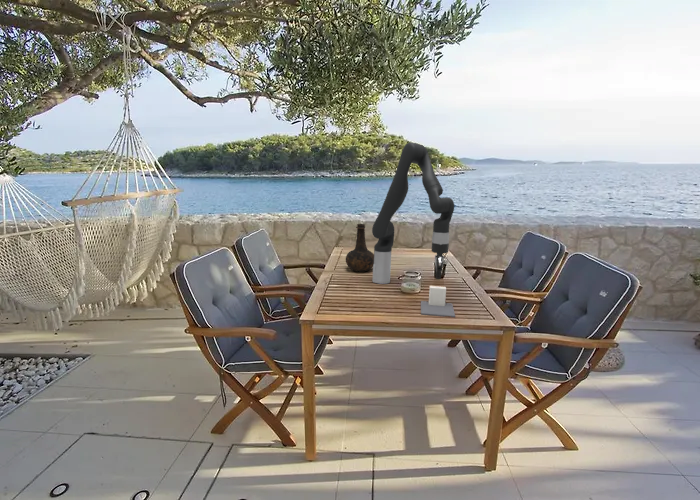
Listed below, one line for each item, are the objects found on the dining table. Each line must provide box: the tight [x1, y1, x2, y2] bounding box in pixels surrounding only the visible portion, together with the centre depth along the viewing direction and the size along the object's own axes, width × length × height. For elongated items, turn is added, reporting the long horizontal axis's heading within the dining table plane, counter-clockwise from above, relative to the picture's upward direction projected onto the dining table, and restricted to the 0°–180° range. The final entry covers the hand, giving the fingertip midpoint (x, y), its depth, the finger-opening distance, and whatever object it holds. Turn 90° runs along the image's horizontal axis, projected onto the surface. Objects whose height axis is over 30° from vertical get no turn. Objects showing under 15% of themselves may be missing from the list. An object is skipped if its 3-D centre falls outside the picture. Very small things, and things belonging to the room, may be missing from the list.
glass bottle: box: [345, 223, 374, 273], centre depth 231 cm, size 18×18×28 cm
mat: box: [420, 300, 456, 318], centre depth 170 cm, size 14×16×1 cm
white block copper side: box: [428, 285, 447, 306], centre depth 174 cm, size 7×4×8 cm, turn 81°
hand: (438, 278), depth 180 cm, fingers closed
